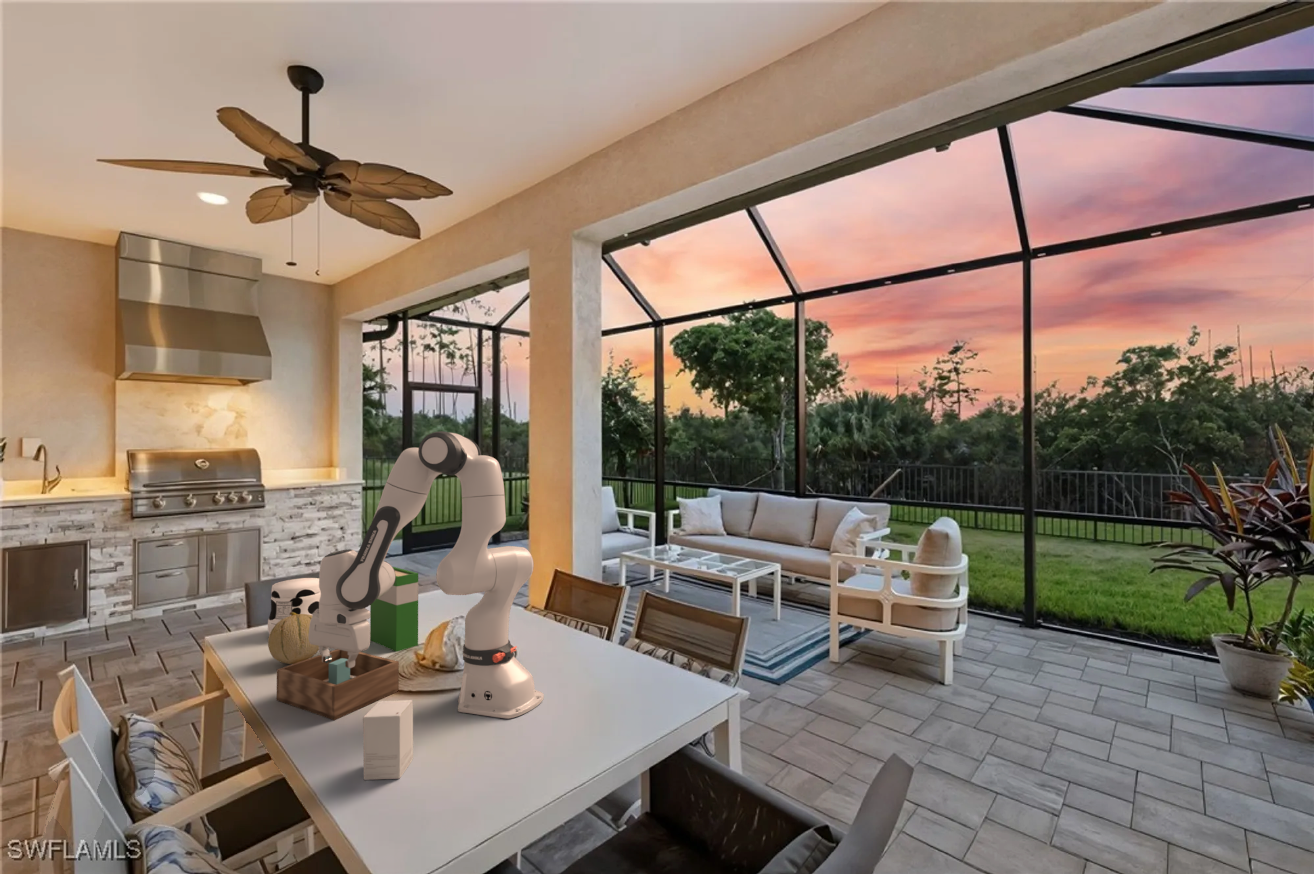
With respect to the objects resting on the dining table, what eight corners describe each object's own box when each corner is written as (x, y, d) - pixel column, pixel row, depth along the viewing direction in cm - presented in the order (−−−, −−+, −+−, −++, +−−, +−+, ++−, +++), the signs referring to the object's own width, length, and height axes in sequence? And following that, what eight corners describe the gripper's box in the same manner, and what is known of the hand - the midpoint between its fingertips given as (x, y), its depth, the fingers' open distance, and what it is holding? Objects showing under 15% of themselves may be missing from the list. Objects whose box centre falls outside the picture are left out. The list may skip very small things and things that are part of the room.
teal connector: (349, 689, 151) (350, 659, 151) (336, 695, 147) (337, 664, 147) (341, 687, 152) (341, 657, 152) (328, 693, 148) (328, 663, 148)
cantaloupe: (297, 673, 164) (297, 622, 164) (255, 669, 167) (255, 619, 167) (335, 654, 178) (335, 607, 179) (296, 651, 181) (296, 605, 182)
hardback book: (370, 640, 192) (370, 570, 192) (391, 634, 198) (391, 566, 198) (396, 651, 181) (396, 577, 182) (418, 645, 187) (418, 573, 187)
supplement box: (414, 758, 119) (414, 698, 119) (399, 779, 112) (399, 715, 112) (379, 759, 119) (379, 699, 119) (361, 780, 111) (362, 716, 111)
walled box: (398, 691, 152) (398, 661, 152) (334, 720, 136) (334, 686, 136) (342, 675, 163) (342, 647, 163) (276, 700, 147) (276, 669, 147)
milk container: (321, 622, 211) (321, 574, 212) (329, 634, 198) (329, 583, 198) (265, 632, 200) (265, 582, 201) (270, 645, 187) (270, 591, 187)
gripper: (301, 610, 151) (301, 663, 150) (352, 619, 142) (352, 674, 141) (324, 605, 156) (324, 655, 156) (374, 612, 148) (374, 665, 147)
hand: (338, 664), depth 149 cm, fingers open, 8 cm apart
